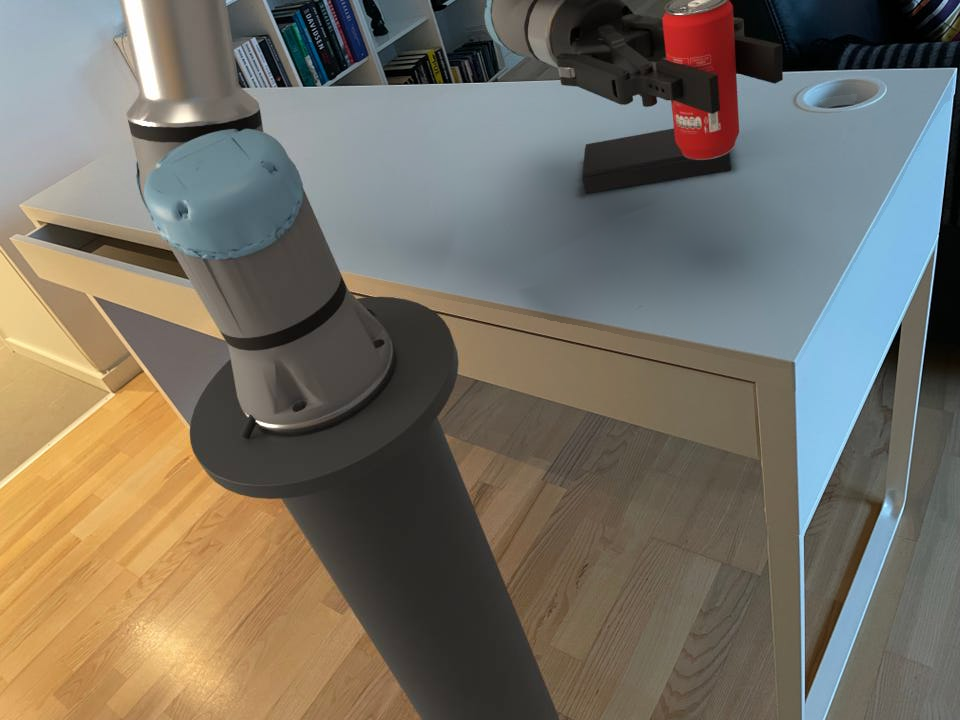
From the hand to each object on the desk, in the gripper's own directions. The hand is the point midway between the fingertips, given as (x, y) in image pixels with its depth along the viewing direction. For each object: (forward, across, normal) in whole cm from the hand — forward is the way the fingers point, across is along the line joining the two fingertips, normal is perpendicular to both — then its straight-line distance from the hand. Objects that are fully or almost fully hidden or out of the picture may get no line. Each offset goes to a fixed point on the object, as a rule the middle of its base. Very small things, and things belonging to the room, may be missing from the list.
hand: (746, 79), depth 57 cm
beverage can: (-5, 0, -7) cm, 9 cm away
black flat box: (-25, -7, -18) cm, 32 cm away
